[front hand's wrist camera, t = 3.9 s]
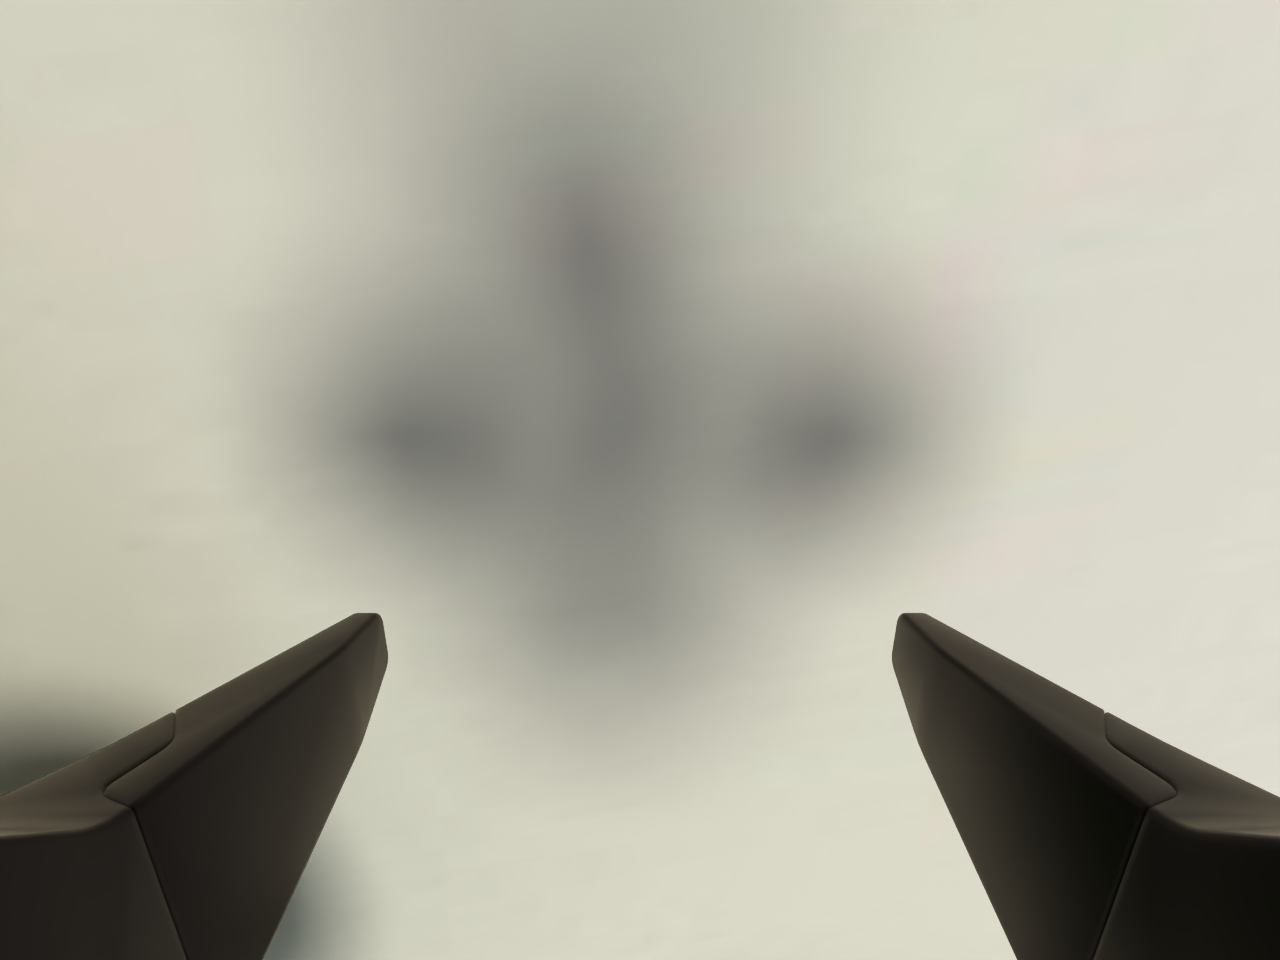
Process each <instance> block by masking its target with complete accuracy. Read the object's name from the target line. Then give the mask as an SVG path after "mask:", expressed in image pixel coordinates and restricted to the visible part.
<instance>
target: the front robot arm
mask: <svg viewBox="0 0 1280 960" xmlns="http://www.w3.org/2000/svg"><path fill="white" fill-rule="evenodd" d="M387 663H388V651H387V645H386V638H385V632H384V626H383V621H382V618H381V616H380V615H379V614H377V613H356V614H353V615H351V616H349V617H347V618H346V619H344V620H342V621H340V622H338V623H336V624H334V625H333V626H331V627H329V628H327V629H325V630H323V631H321V632H320V633H318V634H316V635H314V636H312V637H310V638H309V639H307V640H305V641H303V642H301V643H299V644H297V645H296V646H294V647H292V648H290V649H288V650H286V651H285V652H283V653H281V654H279V655H277V656H275V657H273V658H272V659H270V660H268V661H266V662H264V663H262V664H260V665H259V666H257V667H255V668H253V669H251V670H249V671H248V672H246V673H244V674H242V675H240V676H238V677H236V678H235V679H233V680H231V681H229V682H227V683H225V684H223V685H222V686H220V687H218V688H216V689H214V690H212V691H211V692H209V693H207V694H205V695H203V696H201V697H199V698H198V699H196V700H194V701H192V702H190V703H188V704H186V705H185V706H183V707H181V708H179V709H177V710H176V714H175V713H173V712H172V713H170V714H168V715H166V716H164V717H162V718H160V719H159V720H157V721H155V722H153V723H151V724H149V725H147V726H145V727H144V728H142V729H140V730H138V731H136V732H134V733H132V734H130V735H128V736H126V737H124V738H122V739H121V740H119V741H117V742H115V743H113V744H111V745H109V746H107V747H105V748H102V749H100V750H98V751H96V752H94V753H92V754H90V755H88V756H86V757H84V758H82V759H80V760H78V761H76V762H74V763H72V764H70V765H67V766H65V767H63V768H61V769H59V770H57V771H55V772H53V773H51V774H48V775H46V776H44V777H42V778H40V779H38V780H36V781H34V782H32V783H29V784H27V785H25V786H23V787H21V788H19V789H17V790H15V791H13V792H11V793H8V794H6V795H4V796H2V797H0V960H263V958H264V956H265V954H266V951H267V949H268V947H269V945H270V943H271V940H272V938H273V936H274V934H275V932H276V930H277V927H278V925H279V923H280V921H281V919H282V917H283V914H284V912H285V910H286V908H287V906H288V903H289V901H290V899H291V897H292V895H293V893H294V890H295V888H296V886H297V884H298V882H299V879H300V877H301V875H302V873H303V871H304V869H305V866H306V864H307V862H308V860H309V858H310V856H311V853H312V851H313V849H314V847H315V845H316V842H317V840H318V838H319V836H320V834H321V832H322V829H323V827H324V825H325V823H326V821H327V819H328V816H329V814H330V812H331V810H332V808H333V805H334V803H335V801H336V799H337V797H338V795H339V792H340V790H341V788H342V786H343V784H344V781H345V779H346V777H347V775H348V773H349V771H350V768H351V766H352V764H353V762H354V760H355V758H356V755H357V753H358V751H359V748H360V746H361V744H362V741H363V738H364V735H365V732H366V730H367V726H368V723H369V720H370V717H371V714H372V711H373V708H374V705H375V702H376V699H377V696H378V693H379V689H380V686H381V683H382V680H383V677H384V674H385V671H386V668H387ZM892 663H893V668H894V671H895V674H896V677H897V680H898V683H899V686H900V689H901V693H902V696H903V699H904V702H905V705H906V708H907V711H908V714H909V717H910V720H911V723H912V726H913V730H914V732H915V735H916V738H917V741H918V744H919V746H920V748H921V751H922V753H923V755H924V758H925V760H926V762H927V764H928V766H929V768H930V771H931V773H932V775H933V777H934V779H935V781H936V784H937V786H938V788H939V790H940V792H941V795H942V797H943V799H944V801H945V803H946V805H947V808H948V810H949V812H950V814H951V816H952V819H953V821H954V823H955V825H956V827H957V829H958V832H959V834H960V836H961V838H962V840H963V842H964V845H965V847H966V849H967V851H968V853H969V856H970V858H971V860H972V862H973V864H974V866H975V869H976V871H977V873H978V875H979V877H980V880H981V882H982V884H983V886H984V888H985V890H986V893H987V895H988V897H989V899H990V901H991V903H992V906H993V908H994V910H995V912H996V914H997V917H998V919H999V921H1000V923H1001V925H1002V927H1003V930H1004V932H1005V934H1006V936H1007V938H1008V941H1009V943H1010V945H1011V947H1012V949H1013V951H1014V954H1015V956H1016V958H1017V960H1280V797H1278V796H1276V795H1274V794H1272V793H1269V792H1267V791H1265V790H1263V789H1261V788H1259V787H1257V786H1255V785H1253V784H1251V783H1248V782H1246V781H1244V780H1242V779H1240V778H1238V777H1236V776H1234V775H1232V774H1229V773H1227V772H1225V771H1223V770H1221V769H1219V768H1217V767H1215V766H1213V765H1210V764H1208V763H1206V762H1204V761H1202V760H1200V759H1198V758H1196V757H1194V756H1192V755H1190V754H1188V753H1186V752H1184V751H1182V750H1180V749H1178V748H1175V747H1173V746H1171V745H1169V744H1167V743H1165V742H1163V741H1161V740H1159V739H1158V738H1156V737H1154V736H1152V735H1150V734H1148V733H1146V732H1144V731H1142V730H1140V729H1138V728H1136V727H1135V726H1133V725H1131V724H1129V723H1127V722H1125V721H1123V720H1121V719H1120V718H1118V717H1116V716H1114V715H1112V714H1110V713H1108V712H1107V713H1105V714H1104V710H1103V709H1101V708H1099V707H1097V706H1095V705H1094V704H1092V703H1090V702H1088V701H1086V700H1084V699H1082V698H1081V697H1079V696H1077V695H1075V694H1073V693H1071V692H1070V691H1068V690H1066V689H1064V688H1062V687H1060V686H1058V685H1057V684H1055V683H1053V682H1051V681H1049V680H1047V679H1045V678H1044V677H1042V676H1040V675H1038V674H1036V673H1034V672H1032V671H1031V670H1029V669H1027V668H1025V667H1023V666H1021V665H1020V664H1018V663H1016V662H1014V661H1012V660H1010V659H1008V658H1007V657H1005V656H1003V655H1001V654H999V653H997V652H995V651H994V650H992V649H990V648H988V647H986V646H984V645H983V644H981V643H979V642H977V641H975V640H973V639H971V638H970V637H968V636H966V635H964V634H962V633H960V632H958V631H957V630H955V629H953V628H951V627H949V626H947V625H946V624H944V623H942V622H940V621H938V620H936V619H934V618H933V617H931V616H929V615H927V614H924V613H903V614H901V615H900V616H899V618H898V621H897V626H896V632H895V638H894V645H893V651H892Z"/></svg>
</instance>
